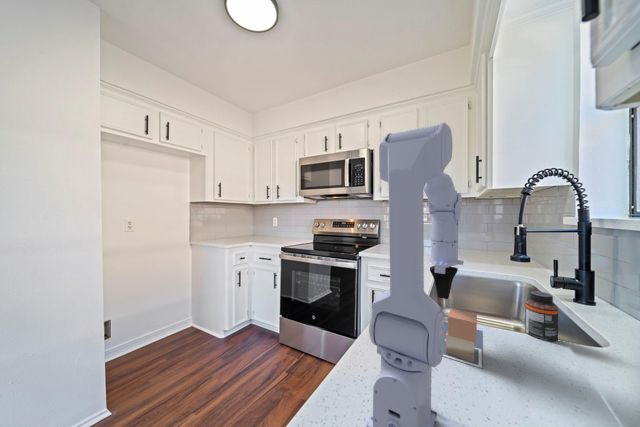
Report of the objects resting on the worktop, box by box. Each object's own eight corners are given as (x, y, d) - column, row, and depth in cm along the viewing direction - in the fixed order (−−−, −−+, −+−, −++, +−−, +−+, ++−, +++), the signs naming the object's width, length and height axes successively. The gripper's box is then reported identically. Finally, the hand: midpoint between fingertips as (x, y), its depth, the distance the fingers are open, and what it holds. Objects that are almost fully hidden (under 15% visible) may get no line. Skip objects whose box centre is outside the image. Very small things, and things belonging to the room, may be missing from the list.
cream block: (474, 362, 48) (474, 342, 48) (445, 353, 51) (446, 334, 51) (474, 350, 52) (474, 332, 52) (448, 343, 55) (448, 325, 55)
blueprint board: (483, 374, 46) (483, 368, 46) (407, 350, 54) (407, 345, 54) (482, 334, 61) (482, 330, 61) (423, 320, 69) (423, 316, 69)
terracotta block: (476, 342, 48) (476, 322, 48) (447, 335, 50) (448, 316, 50) (476, 332, 52) (476, 314, 52) (450, 326, 55) (450, 308, 55)
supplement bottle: (537, 332, 63) (538, 288, 63) (564, 344, 57) (565, 296, 57) (518, 334, 61) (519, 290, 61) (545, 347, 56) (546, 298, 56)
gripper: (461, 245, 49) (460, 311, 49) (465, 239, 61) (464, 292, 61) (424, 242, 53) (423, 304, 53) (435, 237, 65) (434, 287, 65)
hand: (443, 297), depth 58 cm, fingers closed
